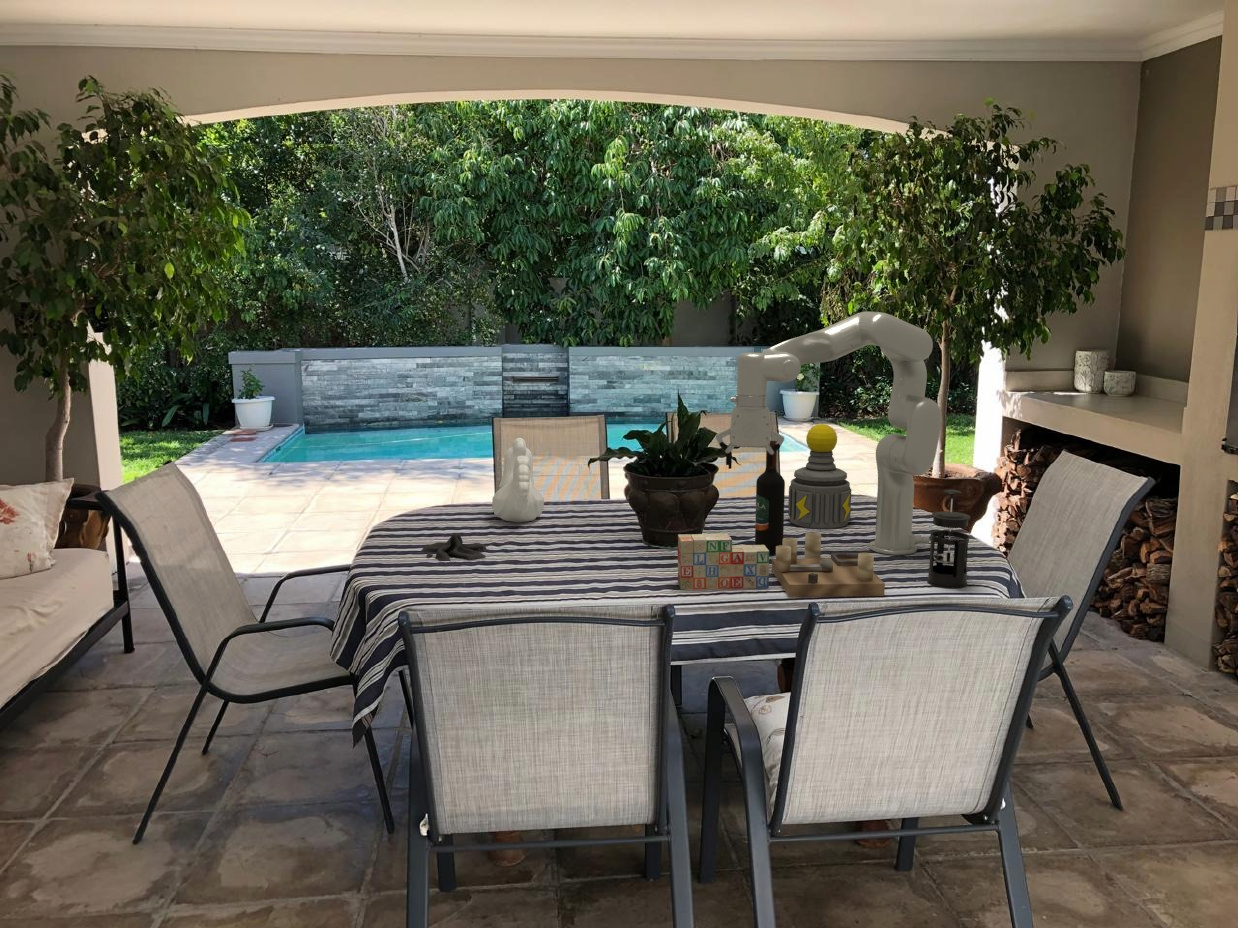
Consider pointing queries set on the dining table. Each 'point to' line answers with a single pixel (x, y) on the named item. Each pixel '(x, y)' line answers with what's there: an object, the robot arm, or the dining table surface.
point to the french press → (947, 573)
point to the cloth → (455, 549)
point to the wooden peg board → (831, 576)
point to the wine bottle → (770, 507)
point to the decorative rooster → (518, 487)
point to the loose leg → (812, 544)
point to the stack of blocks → (720, 563)
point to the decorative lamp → (820, 485)
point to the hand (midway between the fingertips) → (748, 468)
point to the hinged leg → (785, 565)
